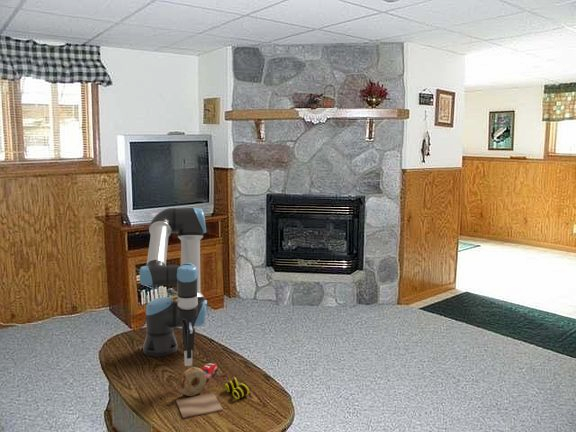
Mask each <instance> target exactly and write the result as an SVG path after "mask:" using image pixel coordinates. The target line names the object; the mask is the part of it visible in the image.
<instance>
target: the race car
mask: <svg viewBox="0 0 576 432" xmlns="http://www.w3.org/2000/svg"><path fill="white" fill-rule="evenodd" d="M201 369H202V370H203V371H204V373H205V375H206V384H207V383H208V382H209V381H210V380H211V379H212V378H213V376H215V374H216V373H217V372H218V364H216V363H206V364H205V365H203V366H202V367H201Z"/></svg>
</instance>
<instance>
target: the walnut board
mask: <svg viewBox="0 0 576 432" xmlns="http://www.w3.org/2000/svg"><path fill="white" fill-rule="evenodd" d="M175 402H176V405H177V407H178V409H179V412H180V416H181V417H182V419H189V418H193V417H199V416H203V415H207V414H212V413H217V412H221V411H223V410H224V409H223V407H222V405H221V403H220V401H219V399H218V398H217V396H216V395H215V392H211V393H206V394H201V395H200V394H199V395H193V396H188V397H185V398H180V399H176V400H175Z"/></svg>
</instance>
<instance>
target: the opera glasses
mask: <svg viewBox="0 0 576 432" xmlns="http://www.w3.org/2000/svg"><path fill="white" fill-rule="evenodd" d="M224 387H225V390H226V392H227V393H231V392H232V396H233V398H234V399H236V400H239V399H240V398H243V397H244V396H245V397H246V396H248V395H249V393H250V390H249V388H248V386H247V384H244V383H242V382H240V383H239V382H238V380H237V377H234V378H233V379H231V380H229V381H228V382H227V383H224Z"/></svg>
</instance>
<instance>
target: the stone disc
mask: <svg viewBox="0 0 576 432" xmlns="http://www.w3.org/2000/svg"><path fill="white" fill-rule="evenodd" d="M193 379H194V381H193V382H192V380H193ZM206 385H207V383H206V375H205V373H204V371H203V370H202V368H200V367H196V366H194V367H189V368H188V369H186V370H184V371H183V372H182V373H181V375H180V378H179V386H178V387H179V390H180V392H181V393H182V394H183V395H185V396H187V397H194V396H197V395H198V394H200V393H201V392H203V391H204V389H205V388H206Z"/></svg>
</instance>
